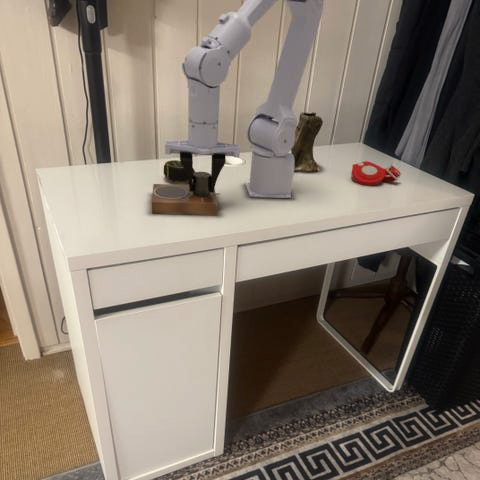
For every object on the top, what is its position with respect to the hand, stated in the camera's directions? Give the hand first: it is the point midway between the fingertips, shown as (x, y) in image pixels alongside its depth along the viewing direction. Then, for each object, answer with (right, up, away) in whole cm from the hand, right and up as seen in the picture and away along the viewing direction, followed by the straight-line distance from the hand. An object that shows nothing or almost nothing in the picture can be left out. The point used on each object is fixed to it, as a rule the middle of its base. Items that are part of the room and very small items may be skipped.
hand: (201, 190), depth 96 cm
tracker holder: (+42, +9, +23) cm, 49 cm away
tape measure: (-6, +6, +14) cm, 16 cm away
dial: (0, -1, 0) cm, 1 cm away
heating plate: (-6, -1, 0) cm, 6 cm away
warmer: (-4, -3, +1) cm, 5 cm away
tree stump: (+24, +14, +28) cm, 40 cm away
